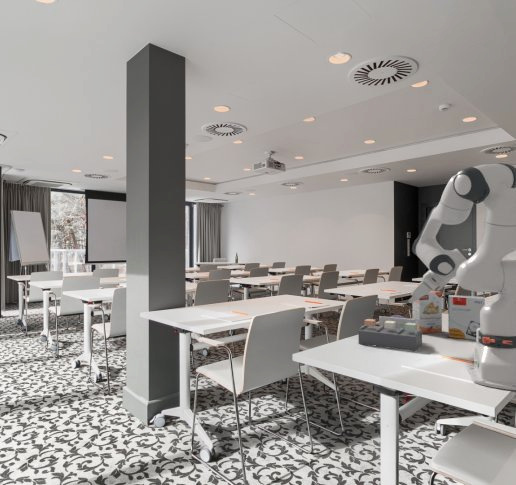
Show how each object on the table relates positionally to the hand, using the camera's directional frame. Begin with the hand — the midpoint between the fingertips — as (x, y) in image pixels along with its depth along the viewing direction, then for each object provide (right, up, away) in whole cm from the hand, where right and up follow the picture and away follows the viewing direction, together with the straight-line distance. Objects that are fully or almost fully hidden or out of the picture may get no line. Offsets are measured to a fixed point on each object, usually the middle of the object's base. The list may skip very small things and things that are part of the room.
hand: (409, 301), depth 169 cm
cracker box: (+21, -20, +29) cm, 41 cm away
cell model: (+3, -20, +24) cm, 31 cm away
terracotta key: (-15, -12, +9) cm, 21 cm away
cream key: (-7, -12, +4) cm, 15 cm away
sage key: (0, -12, -1) cm, 12 cm away
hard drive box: (+34, -20, +16) cm, 42 cm away
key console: (-6, -20, +6) cm, 22 cm away
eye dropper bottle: (+32, -20, -2) cm, 37 cm away
